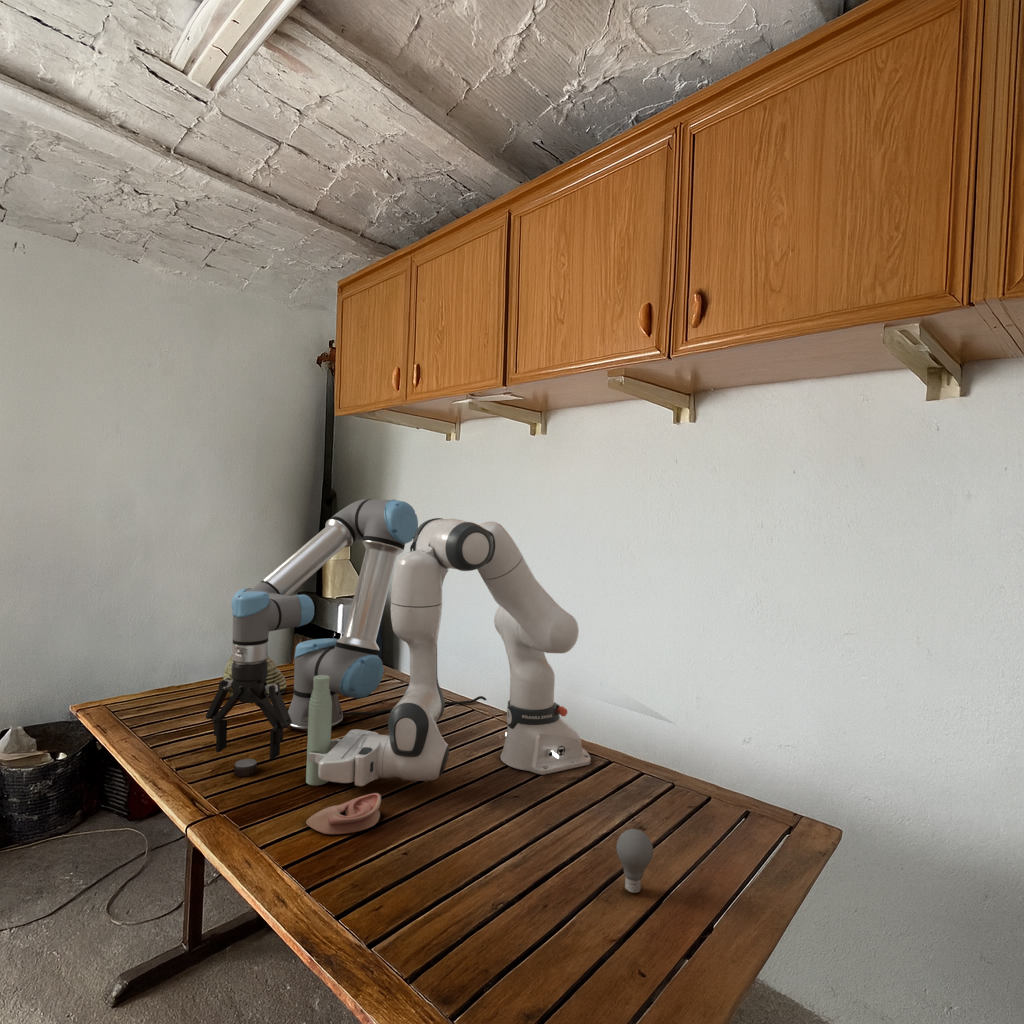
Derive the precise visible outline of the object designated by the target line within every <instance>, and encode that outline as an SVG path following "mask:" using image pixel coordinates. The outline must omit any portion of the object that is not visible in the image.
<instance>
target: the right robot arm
mask: <svg viewBox="0 0 1024 1024" xmlns="http://www.w3.org/2000/svg"><path fill="white" fill-rule="evenodd" d="M394 568H395V569H394V571H393V572H394V573H393V578H392V586H391V594H390V595H391V596H390V621H391V627H392V631H393V633H394V635H396V637H397V638H399V639H400V640H401V641H403V642H405V643H406V644H407V647H408V650H409V682H408V686H407V689H406V690H405V692H404V694H403V696H402V697H401V698H400V700H399V701H398V702H397V703H396V704H395V705H394V706H393V707H392V708H393V710H392V711H390V713H389V716H388V719H387V728H388V729H387V731H388V734H379V733H378V732H376V731H372V730H367V729H357V728H356V729H354V728H353V729H350V730H349V731H348V732H347V733H346V734H345V735H344V736H343V737H342V738H335V739H331V748H330V751H329V752H328V753H327V754H325V753H324V754H320V753H318V751H311V752H310V753H309V754H308V761H309V762H316V763H317V764H319V765H318V777H319V778H320V779H322V780H325V781H328V782H332V783H339V784H350V783H351V784H352V783H353V782H354V786H357V787H364V786H366V785H367V784H369V783H370V782H373V781H375V780H379V778H380V779H390V778H397V779H400V780H403V781H410V782H411V781H413V782H431V781H436V780H438V779H439V778H441V777H442V775H443V774H444V772H445V769H446V766H447V764H448V760H449V756H450V746H449V744H448V743H447V742H446V741H445V739H444V738H443V735H442V734H441V732H440V729H439V727H438V724H437V723H438V721H439V720H440V719H441V718H442V716H443V715H444V712H445V708H446V705H445V702H446V701H445V697H444V694H443V692H442V689H441V687H440V686H441V685H440V684H439V677H438V640H439V632H440V628H441V623H442V614H443V584H444V582H445V581H444V580H445V578H446V576H447V574H448V572H450V571H449V569H452V570H457V571H461V572H472V571H476V570H477V573H478V574H479V576H480V578H481V579H482V581H483V582H484V585H485V586H486V588H487V589H488V591H489V593H490V595H491V596H492V599H493V600H494V602H496V604H498V605H499V606H498V607H497V609H496V610H495V614H494V618H493V624H494V629H495V630H496V632H497V633H498V635H499V636H500V638H501V640H502V642H503V645H504V648H505V652H506V657H507V660H508V665H509V700H508V701H507V709H506V724H507V728H506V731H505V735H504V736H505V739H504V744H503V747H502V751H501V753H500V761H501V762H502V763H503V764H505V765H507V766H508V767H511V768H514V769H517V770H521V771H527V772H531V773H534V774H536V775H542V776H543V775H547V774H548V775H549V774H552V773H553V774H554V773H557V772H563V771H567V770H570V769H575V768H580V767H584V766H590V765H591V763H592V762H591V760H592V759H591V755H590V754H589V753H588V751H587V750H586V749H585V748H584V747H583V745H582V739H581V737H580V734H579V732H578V731H577V730H576V729H574V727H573V726H571V725H570V724H569V723H568V722H567V721H565V720H564V719H562V717H566V716H567V715H568V709H567V708H566V707H564V706H562V705H560V704H558V703H556V702H555V685H556V674H555V671H554V668H553V667H552V666H551V664H550V663H549V660H548V659H547V656H546V654H567V653H568V652H570V651H571V650H573V648H574V646H575V645H576V644H577V641H578V639H579V634H580V630H579V629H580V627H579V623H578V621H577V619H576V618H575V617H574V616H573V615H572V614H571V613H570V612H567V611H566V609H564V608H562V606H561V605H560V604H559V603H558V602H556V600H555V599H554V598H553V597H552V596H551V594H549V592H547V590H546V589H545V588H544V587H543V585H541V583H540V582H539V581H538V579H537V578H536V577H535V575H534V573H533V572H532V569H531V568H530V567H529V564H528V562H527V561H526V559H525V557H524V556H523V554H522V551H521V550H520V547H519V546H518V544H517V543H516V541H515V540H514V539H513V537H512V536H511V534H510V533H509V532H508V530H506V528H505V527H503V525H502V524H500V523H499V522H497V521H485V522H482V523H480V524H477V523H475V522H472V521H466V520H462V519H458V518H442V517H435V518H430V519H427V520H426V521H425V520H424V522H422V523H421V524H420V525H418V529H417V531H416V533H415V535H414V539H412V543H411V545H410V547H409V551H408V552H405V553H404V554H402V555H401V556H400V557H399V558H398V559H397V560H396V563H395V567H394ZM545 653H546V654H545ZM560 716H561V717H560Z"/></svg>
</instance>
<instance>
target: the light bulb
mask: <svg viewBox="0 0 1024 1024" xmlns="http://www.w3.org/2000/svg"><path fill="white" fill-rule="evenodd" d="M615 849H616V854H617V857H618V859H619V861H620V863H621V865H622V867H623V873H624V874H623V875H624V876H625V878H624V888H625V890H627V891H628V892H630V893H634V894H635V893H639V892H640V891H641V889H642V887H641V886H642V879H643V877H644V875H645V871H646V868H647V867H648V866H649V864H650V863H651V861H652V859H653V855H654V847H653V843H652V841H651V838H649V836H648V835H647V834H646V833H645V832H643V831H642V830H641V829H636V828H629V829H627V830H625V831H623V832H622V833H621V834H620V835H619V837H618V839H617V841H616V847H615Z"/></svg>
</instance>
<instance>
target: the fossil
mask: <svg viewBox="0 0 1024 1024" xmlns="http://www.w3.org/2000/svg"><path fill="white" fill-rule="evenodd" d="M266 661H267V662H268V668H267V678H266V682H267V685H271V684H275V683H279V685H280V694H284V693H285V691H286V689H287V687H288V686H287V680H286V678H285V676H284V674H283V673H282V672H281V669H279V668H278V667H277V665H276V663H275V662H274V660H273V659H272V658H271V657H270V656H269V655H268V658H267V659H266ZM233 662H234V661H233V660H232V654H231V656H230V657H229V659H228V660H227V663H226V666H225V668H224V671H223V675H222V676H223V677H222V680H224V679H226V678H230V679H231V680H232V681H233V679H232V663H233ZM228 693H229V698H230V697H231V696H232V695H233V694H234V691H233V690H232V688H230V689H229V691H228ZM265 693H266V694H267V690H266V692H265ZM267 696H268V697H270V696H269V694H267Z"/></svg>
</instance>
